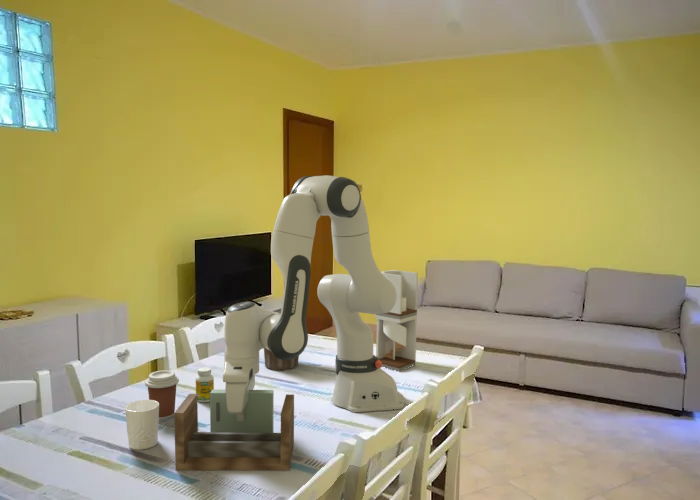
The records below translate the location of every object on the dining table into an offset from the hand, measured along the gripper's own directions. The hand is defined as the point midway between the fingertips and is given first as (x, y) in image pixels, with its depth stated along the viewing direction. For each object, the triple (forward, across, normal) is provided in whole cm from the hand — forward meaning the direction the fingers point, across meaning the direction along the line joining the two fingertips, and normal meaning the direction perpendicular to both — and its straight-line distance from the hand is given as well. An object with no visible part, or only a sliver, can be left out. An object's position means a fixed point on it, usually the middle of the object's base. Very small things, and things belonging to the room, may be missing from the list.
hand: (242, 416), depth 142 cm
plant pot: (+5, -59, +4) cm, 59 cm away
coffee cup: (+5, -13, -25) cm, 29 cm away
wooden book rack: (+5, +12, +1) cm, 13 cm away
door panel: (+5, 0, 0) cm, 5 cm away
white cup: (+5, +5, -24) cm, 25 cm away
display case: (+5, -61, +46) cm, 77 cm away
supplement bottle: (+5, -25, -16) cm, 30 cm away
